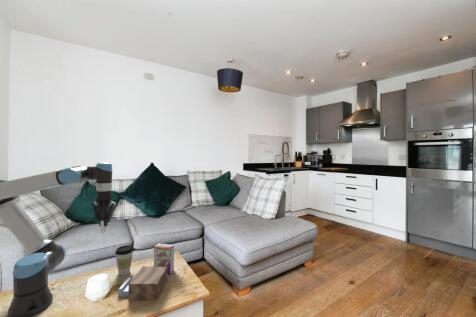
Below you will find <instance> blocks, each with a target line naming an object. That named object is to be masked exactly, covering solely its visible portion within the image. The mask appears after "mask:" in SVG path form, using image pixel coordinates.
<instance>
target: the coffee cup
mask: <svg viewBox="0 0 476 317" xmlns="http://www.w3.org/2000/svg"><path fill="white" fill-rule="evenodd" d="M133 251H134V248H133V246H132V245H129V244H128V245H122V246H119V247H117V248H116V250H115V251H114V252H115V253H114V255H116V256H115V259H116V266H117V273H118V275H119V276H125V275H128V274H129V273H130V272H131V266H132V261H133V260H132V259H133Z"/></svg>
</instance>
